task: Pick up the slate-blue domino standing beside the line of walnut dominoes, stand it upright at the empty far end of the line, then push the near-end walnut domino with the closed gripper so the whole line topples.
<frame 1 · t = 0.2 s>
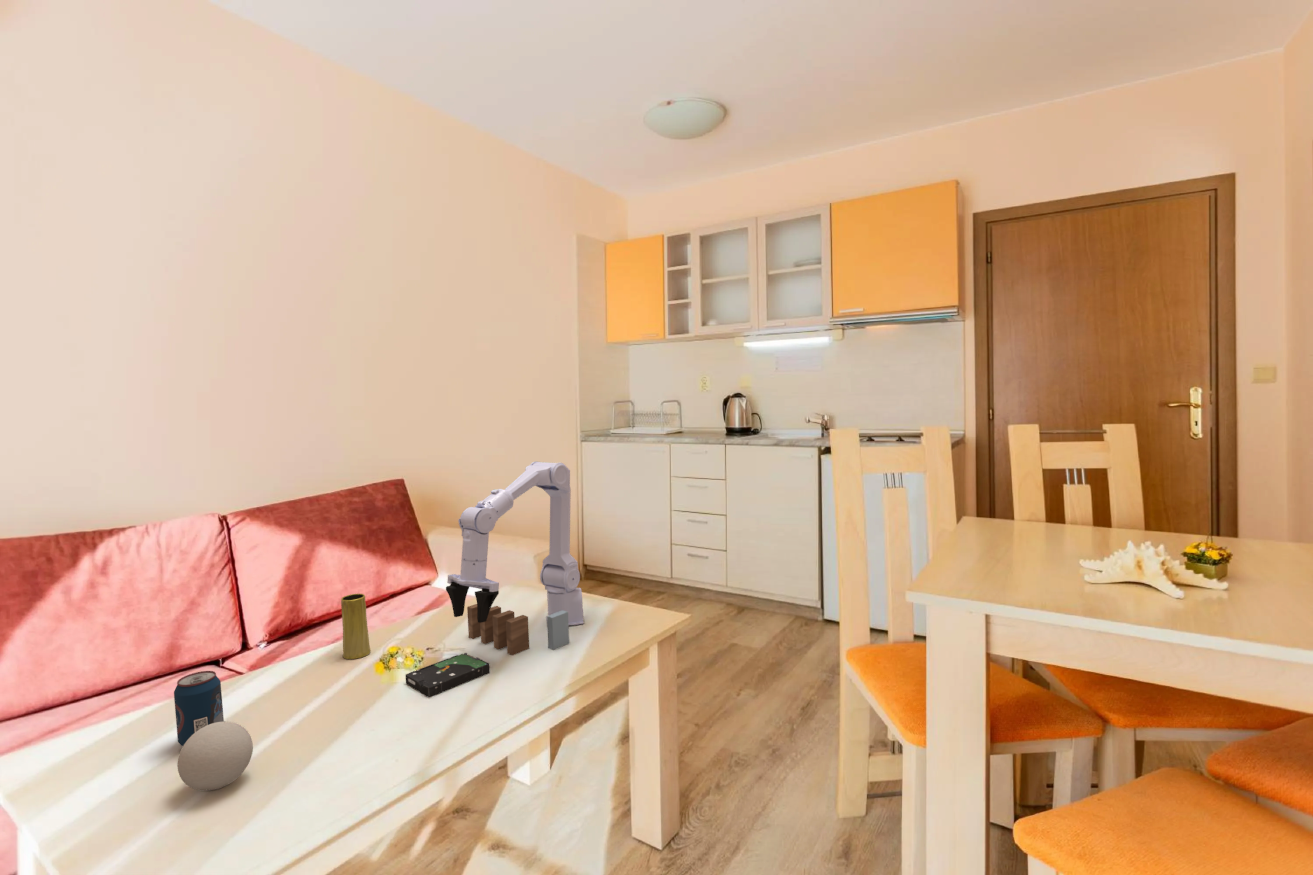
hand: (470, 618, 145), 11 cm above the table, tool pointing down, fingers open, 7 cm apart
vase: (356, 655, 153), on the table
pushed domino: (479, 634, 163), on the table
soda can: (202, 741, 116), on the table
domino 2: (491, 640, 160), on the table
domino 4: (518, 650, 153), on the table
disk drive: (448, 681, 139), on the table
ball: (218, 785, 102), on the table
domino 3: (504, 645, 156), on the table
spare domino: (558, 645, 155), on the table
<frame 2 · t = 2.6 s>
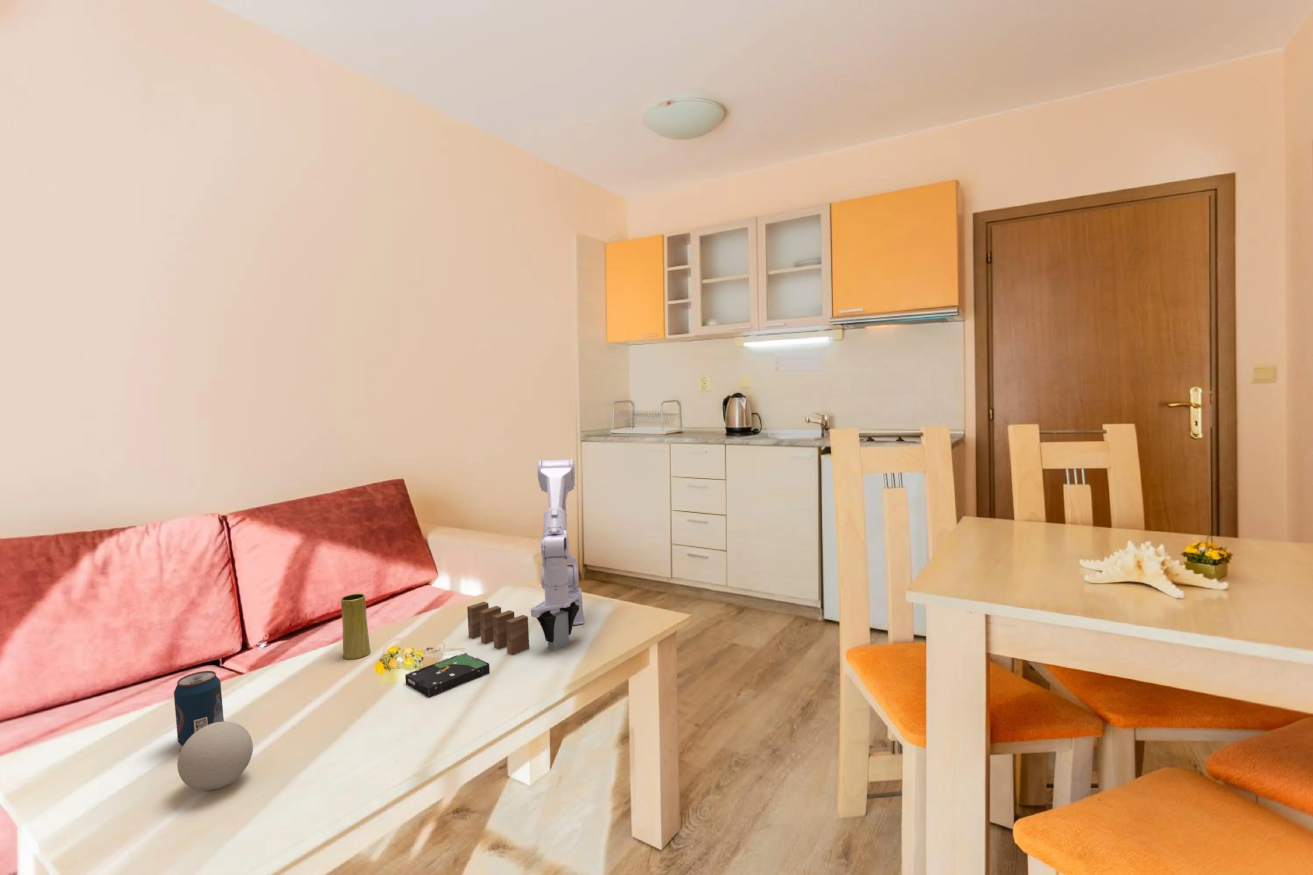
hand: (558, 637, 155), 2 cm above the table, tool pointing down, fingers closed on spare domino, 5 cm apart
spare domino: (558, 645, 155), on the table, touching gripper
everything else where it was.
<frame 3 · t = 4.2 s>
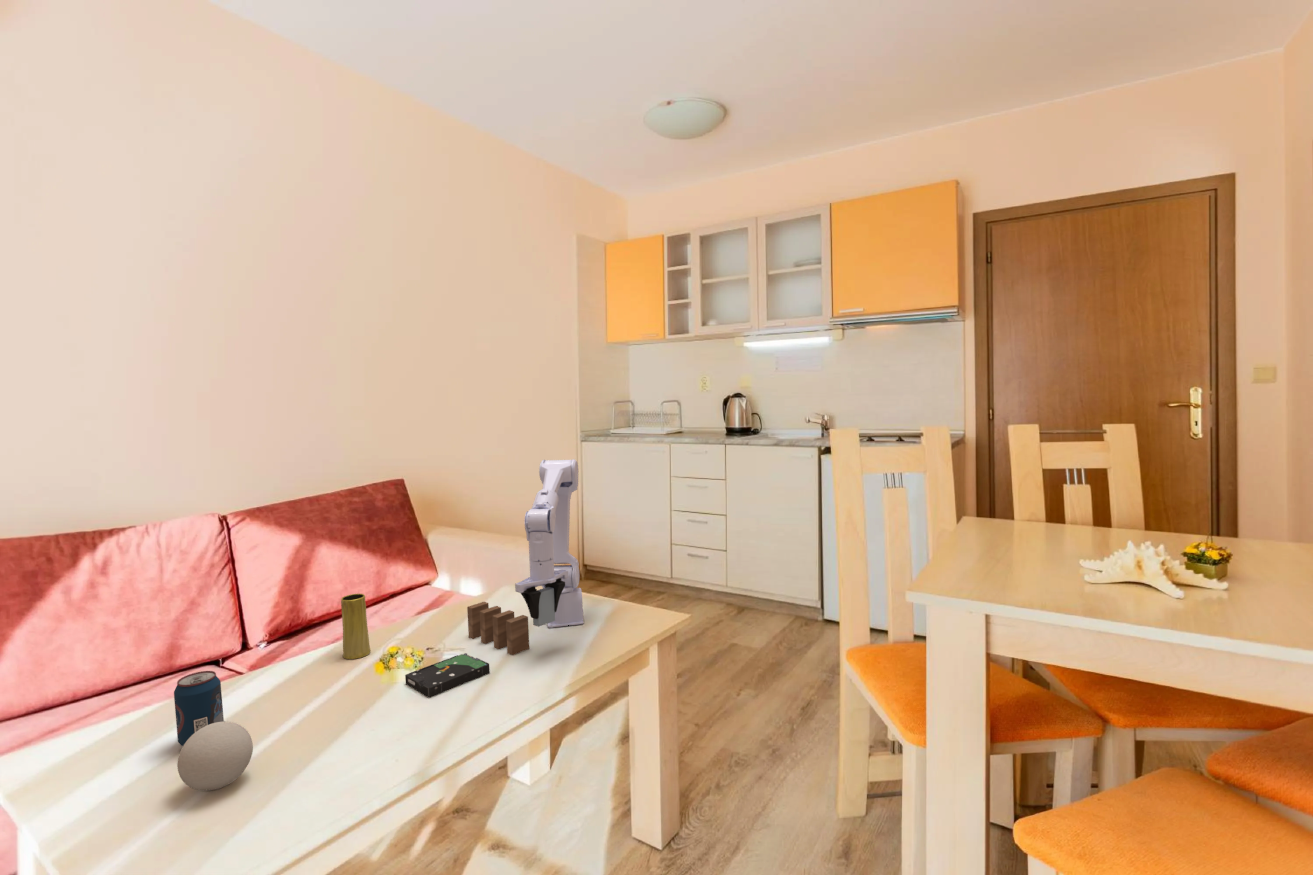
hand: (543, 614, 151), 9 cm above the table, tool pointing down, fingers closed on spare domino, 5 cm apart
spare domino: (544, 622, 151), point 7 cm above the table, touching gripper
everything else where it was.
when the fingers open (3 cm above the table, at t = 6.1 s): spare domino drops 1 cm, on the table.
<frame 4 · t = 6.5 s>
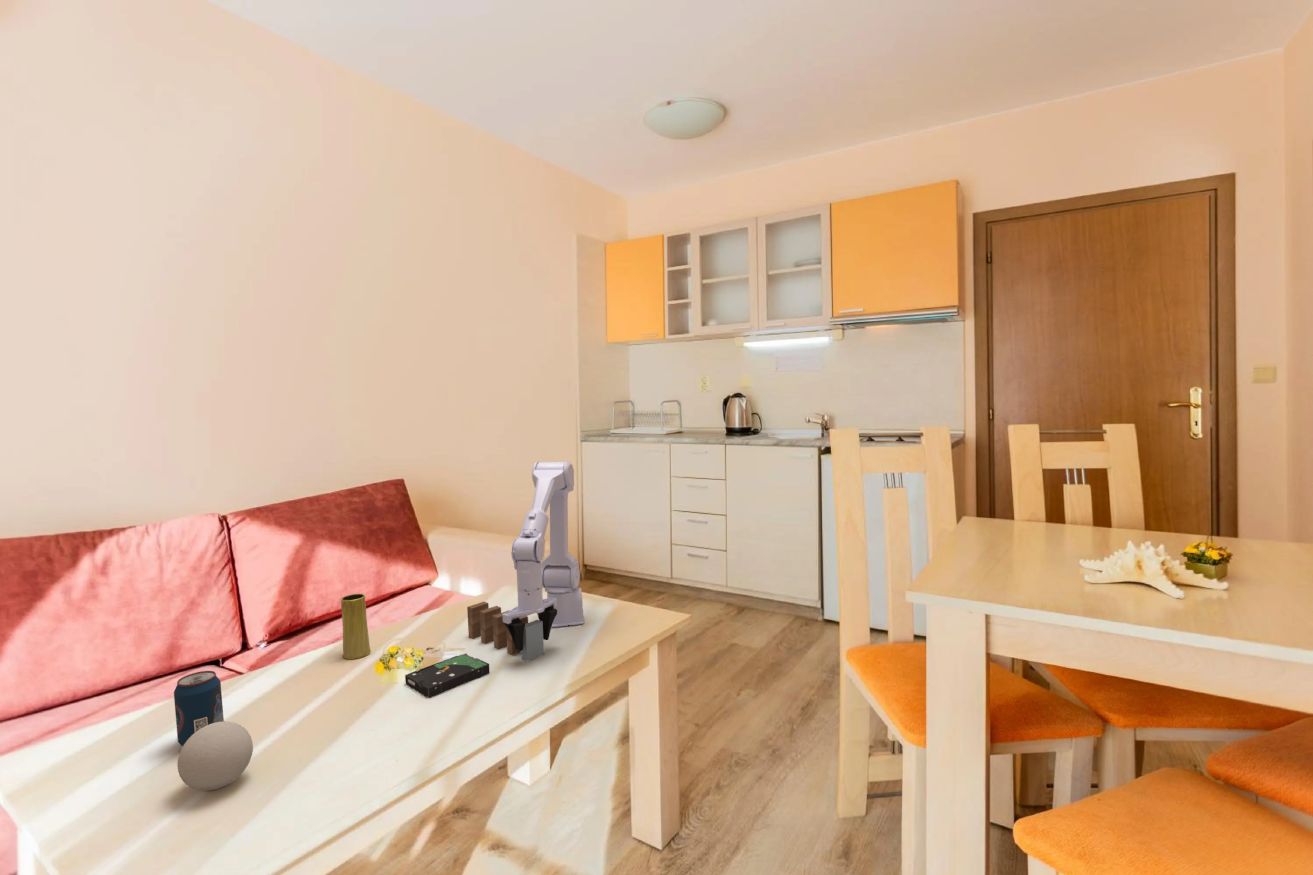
hand: (532, 644, 149), 3 cm above the table, tool pointing down, fingers open, 7 cm apart
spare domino: (532, 656, 149), on the table
everything else where it was.
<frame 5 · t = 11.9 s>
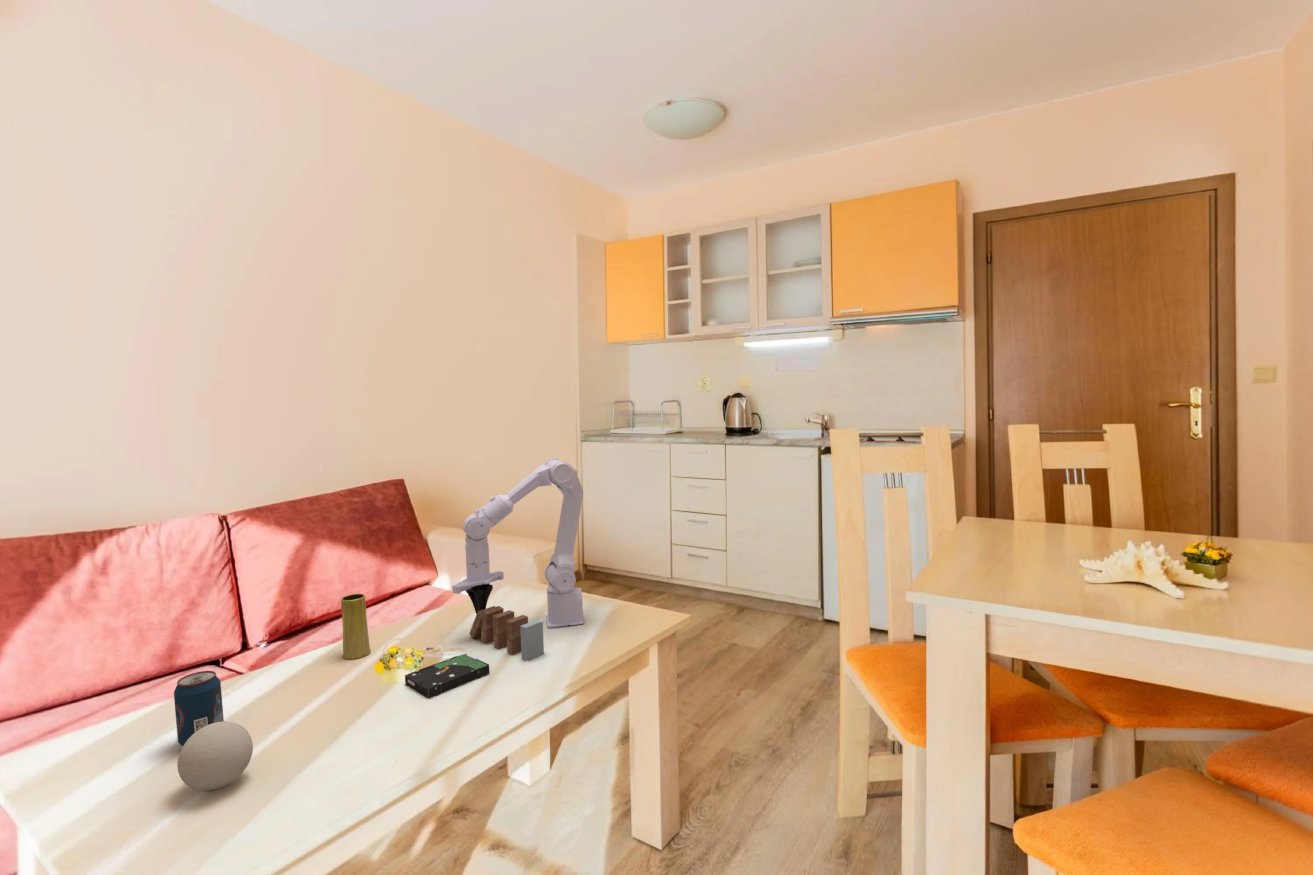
hand: (480, 613, 162), 6 cm above the table, tool pointing down, fingers closed
pushed domino: (479, 633, 163), point 1 cm above the table, tilted 33°
domino 2: (491, 639, 160), on the table, tilted 8°
everything else where it was.
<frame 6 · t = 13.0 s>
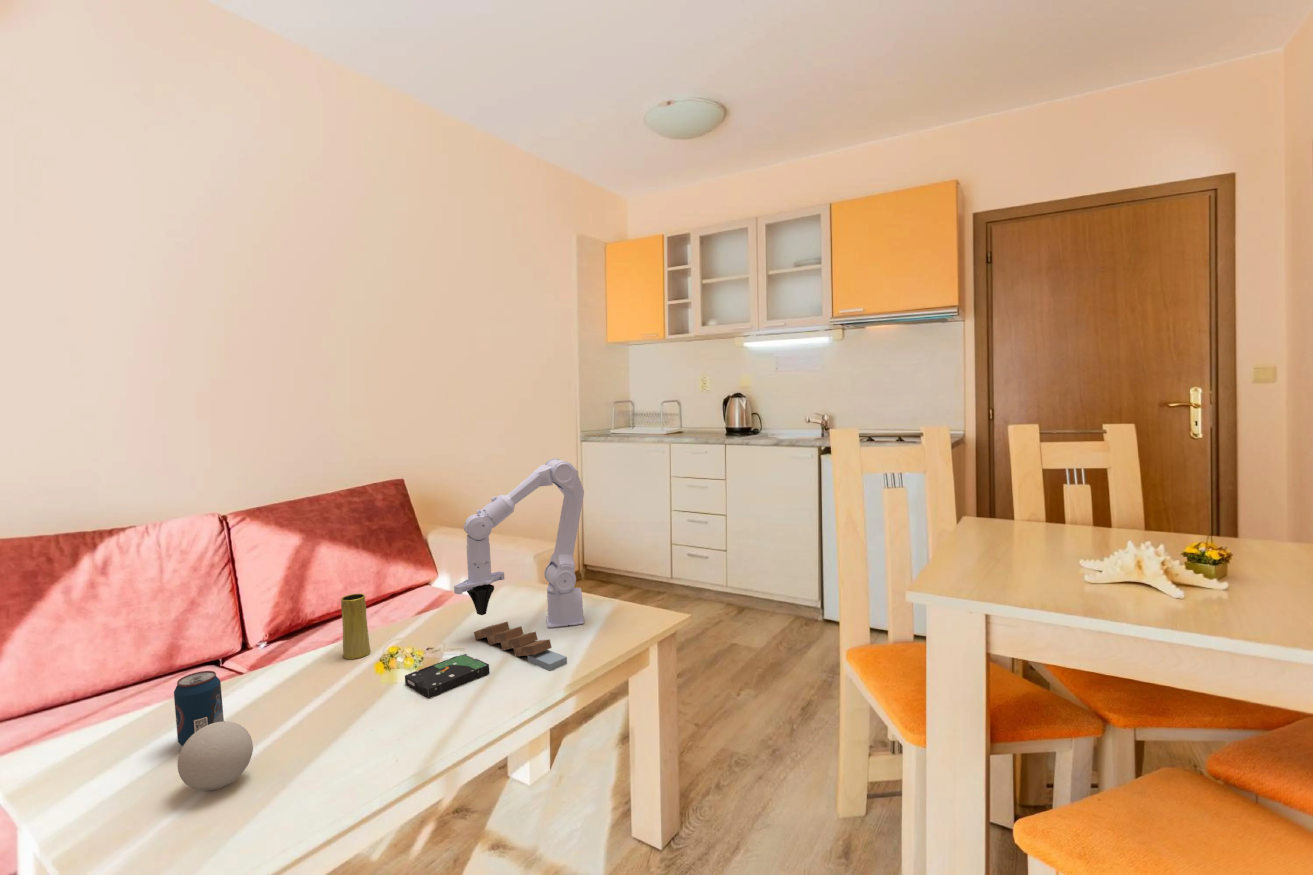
hand: (481, 613, 162), 6 cm above the table, tool pointing down, fingers closed
pushed domino: (482, 632, 162), point 1 cm above the table, tilted 69°
domino 2: (496, 637, 159), point 1 cm above the table, tilted 69°, touching domino 3
domino 4: (523, 648, 151), point 1 cm above the table, tilted 72°, touching domino 3, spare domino
domino 3: (510, 643, 155), point 1 cm above the table, tilted 68°, touching domino 2, domino 4
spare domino: (536, 655, 148), on the table, tilted 90°, touching domino 4
everything else where it was.
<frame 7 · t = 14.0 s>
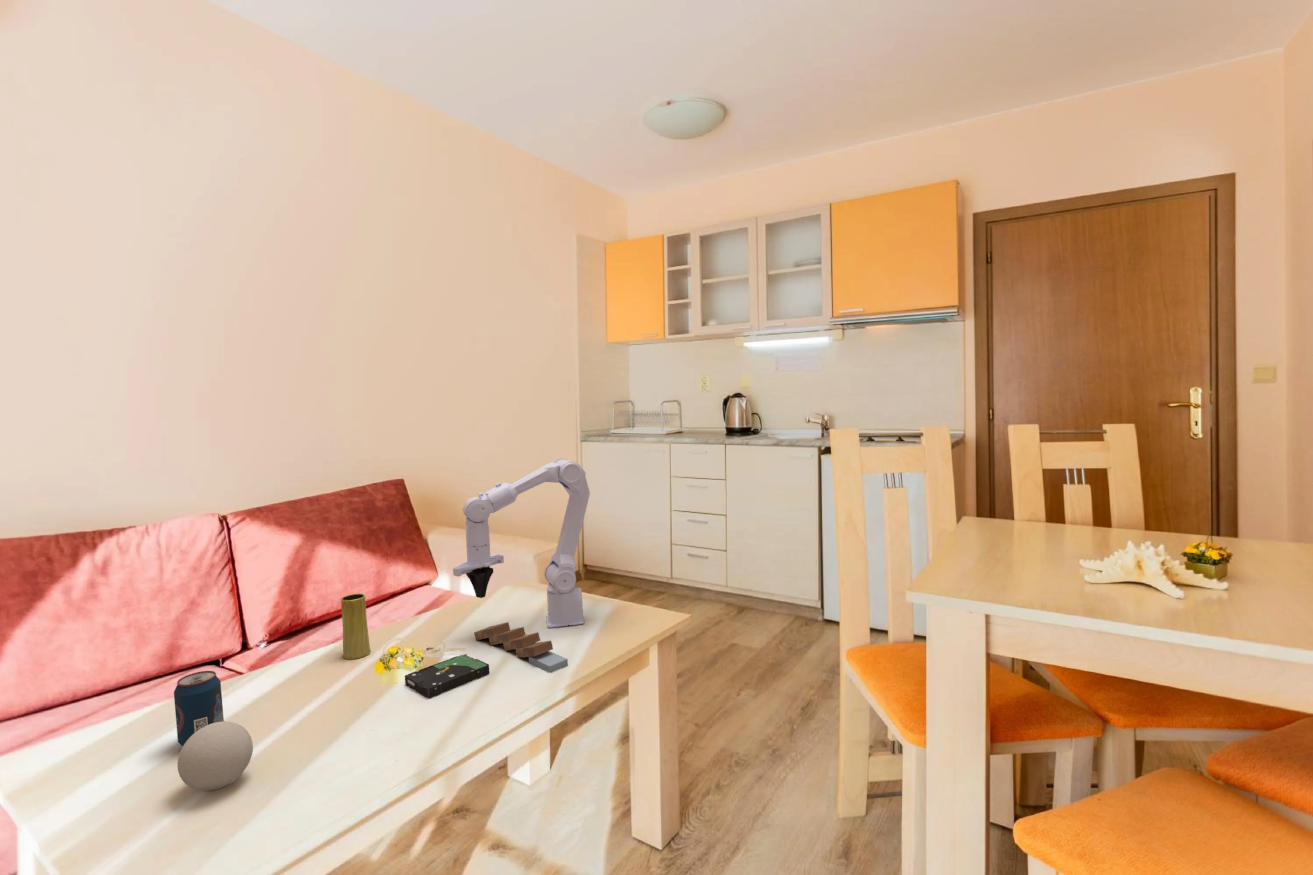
hand: (480, 596, 162), 10 cm above the table, tool pointing down, fingers closed
pushed domino: (483, 633, 162), point 1 cm above the table, tilted 70°, touching domino 2
domino 2: (497, 638, 158), point 1 cm above the table, tilted 69°, touching domino 3, pushed domino
domino 4: (525, 650, 151), point 1 cm above the table, tilted 71°
domino 3: (512, 643, 155), point 1 cm above the table, tilted 69°, touching domino 2
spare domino: (537, 657, 147), on the table, tilted 90°
everything else where it was.
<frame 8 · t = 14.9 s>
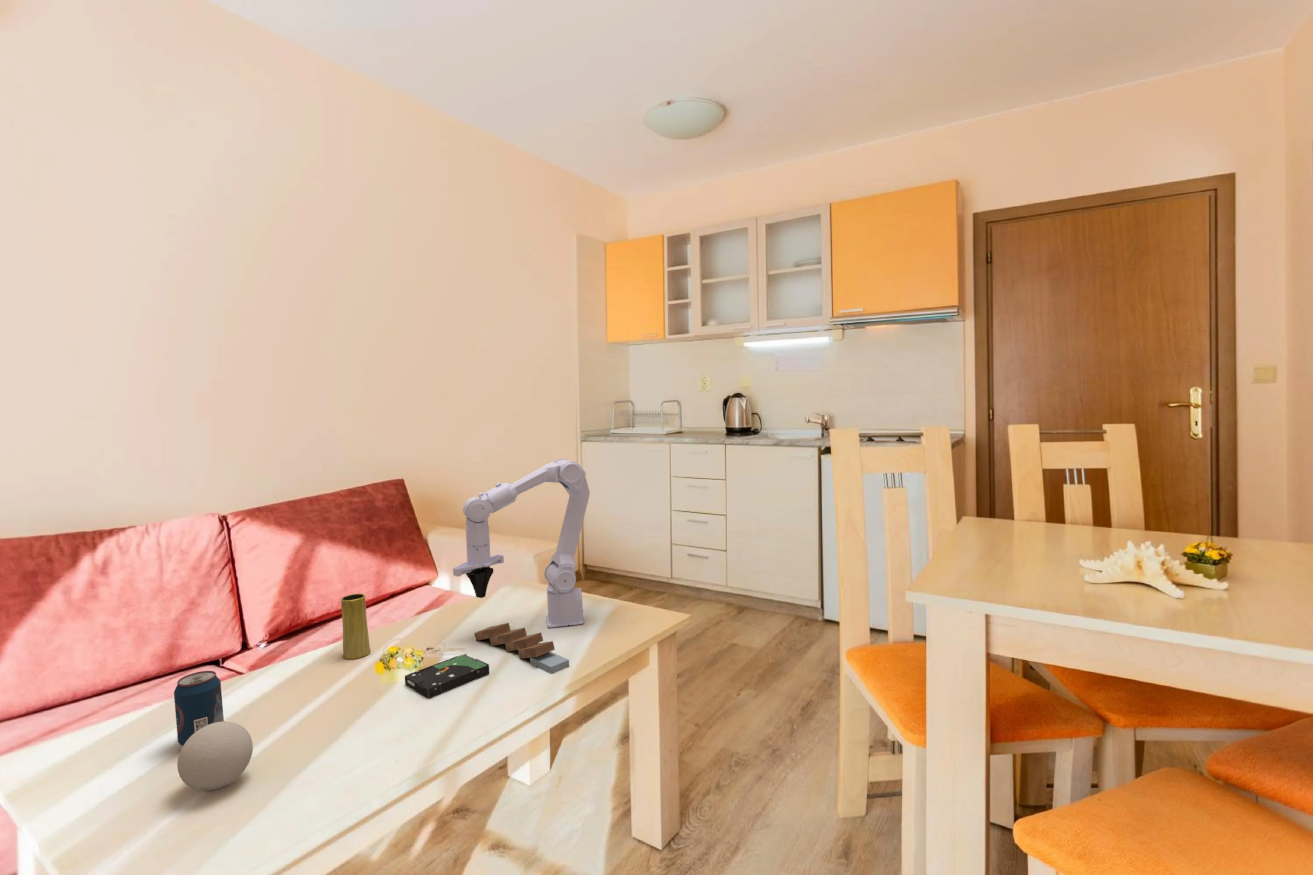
hand: (480, 596, 162), 10 cm above the table, tool pointing down, fingers closed
domino 4: (527, 650, 150), point 1 cm above the table, tilted 70°, touching domino 3, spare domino
domino 3: (514, 644, 154), point 1 cm above the table, tilted 70°, touching domino 2, domino 4
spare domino: (539, 657, 147), point 1 cm above the table, tilted 90°, touching domino 4
at the end: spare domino tilted 90°; domino 3 tilted 70°; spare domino inside the target area (2.8 cm from its centre), point 0.5 cm above the table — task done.
